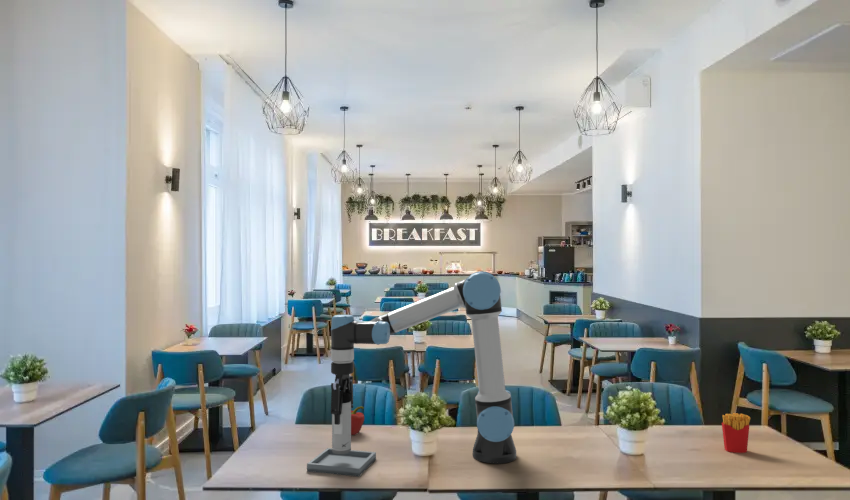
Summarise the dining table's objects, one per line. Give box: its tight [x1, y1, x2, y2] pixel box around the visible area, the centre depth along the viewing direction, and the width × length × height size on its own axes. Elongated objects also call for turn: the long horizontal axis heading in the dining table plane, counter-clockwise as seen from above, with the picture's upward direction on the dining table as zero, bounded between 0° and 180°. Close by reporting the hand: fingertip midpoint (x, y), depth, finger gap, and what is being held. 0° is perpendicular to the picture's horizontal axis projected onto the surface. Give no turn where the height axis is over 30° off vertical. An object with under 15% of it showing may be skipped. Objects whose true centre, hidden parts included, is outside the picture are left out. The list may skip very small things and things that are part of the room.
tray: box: [306, 447, 377, 477], centre depth 192 cm, size 18×16×2 cm
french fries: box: [721, 412, 751, 454], centre depth 205 cm, size 9×4×13 cm, turn 85°
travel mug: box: [331, 391, 352, 454], centre depth 192 cm, size 6×7×20 cm
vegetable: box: [351, 405, 365, 436], centre depth 227 cm, size 11×10×10 cm
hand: (342, 430), depth 192 cm, fingers closed on travel mug, 6 cm apart
